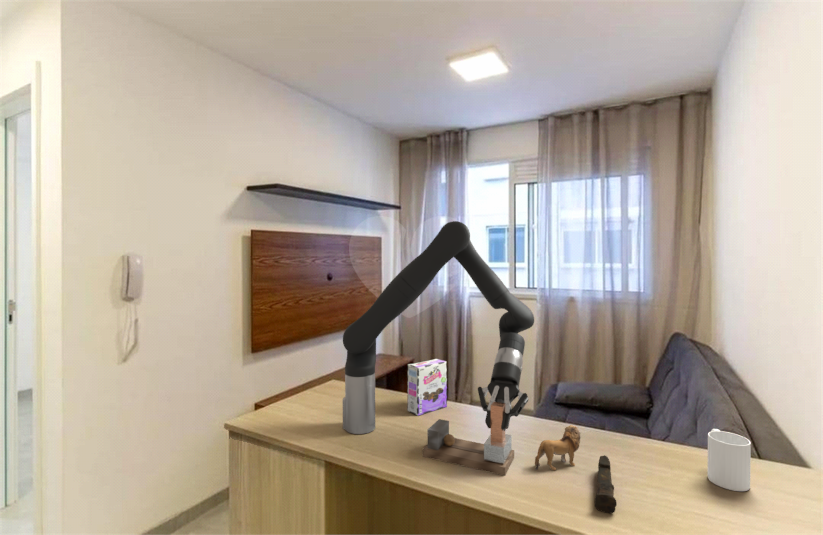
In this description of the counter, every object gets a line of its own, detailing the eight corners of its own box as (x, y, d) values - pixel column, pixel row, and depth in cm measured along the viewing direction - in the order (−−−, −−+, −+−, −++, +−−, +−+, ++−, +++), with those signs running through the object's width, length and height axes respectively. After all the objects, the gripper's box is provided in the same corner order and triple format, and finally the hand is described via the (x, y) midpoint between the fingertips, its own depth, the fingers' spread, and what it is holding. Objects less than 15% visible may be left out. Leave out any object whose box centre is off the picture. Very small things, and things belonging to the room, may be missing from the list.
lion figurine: (569, 454, 109) (569, 420, 109) (586, 462, 105) (586, 428, 104) (528, 467, 103) (528, 431, 102) (544, 477, 98) (544, 440, 98)
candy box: (417, 416, 136) (417, 367, 136) (406, 411, 141) (406, 363, 140) (447, 407, 145) (447, 360, 144) (436, 402, 149) (436, 357, 149)
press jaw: (484, 459, 102) (483, 407, 102) (492, 446, 109) (492, 398, 109) (503, 463, 100) (503, 411, 99) (511, 450, 107) (511, 400, 107)
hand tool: (616, 517, 83) (616, 494, 83) (594, 511, 85) (594, 489, 85) (616, 473, 100) (616, 454, 100) (598, 469, 102) (598, 451, 102)
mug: (757, 494, 90) (758, 447, 90) (715, 489, 92) (716, 443, 92) (731, 467, 102) (732, 425, 102) (695, 463, 104) (695, 422, 104)
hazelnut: (441, 446, 110) (441, 435, 110) (446, 442, 112) (446, 431, 112) (452, 448, 108) (452, 437, 108) (456, 444, 111) (456, 433, 111)
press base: (422, 456, 108) (422, 430, 108) (437, 441, 117) (437, 417, 117) (505, 475, 99) (505, 447, 98) (514, 457, 107) (514, 431, 107)
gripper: (480, 358, 114) (465, 416, 103) (531, 363, 107) (522, 426, 97) (485, 372, 119) (472, 429, 108) (535, 378, 112) (526, 440, 102)
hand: (496, 427), depth 102 cm, fingers closed on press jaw, 3 cm apart
